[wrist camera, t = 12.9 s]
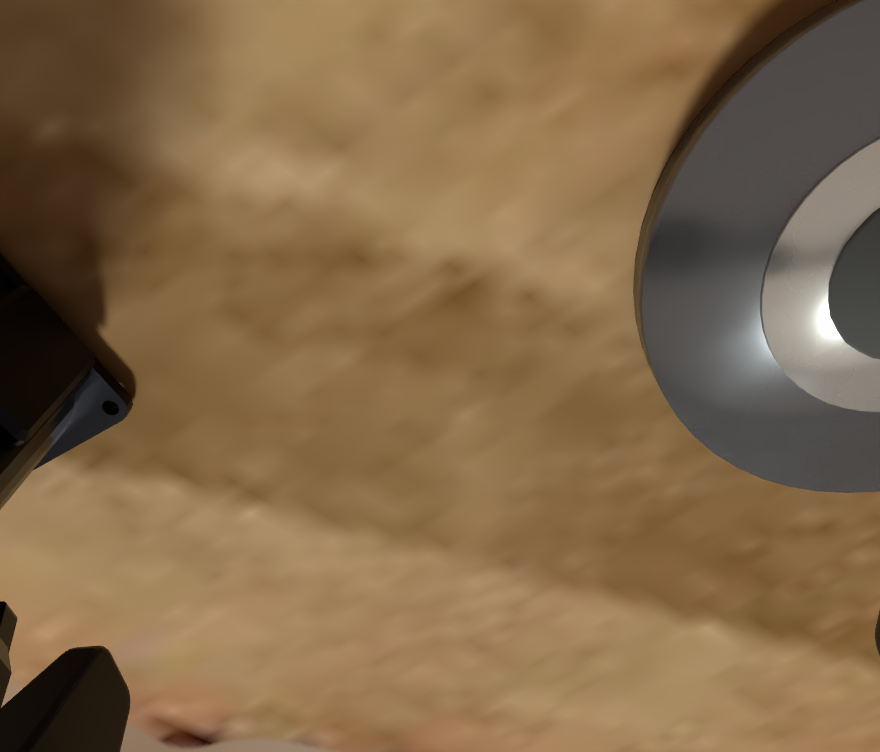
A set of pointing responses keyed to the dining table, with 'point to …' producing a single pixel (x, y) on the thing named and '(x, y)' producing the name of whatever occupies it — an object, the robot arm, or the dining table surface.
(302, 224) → the dining table surface
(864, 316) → the sundae
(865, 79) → the plate
